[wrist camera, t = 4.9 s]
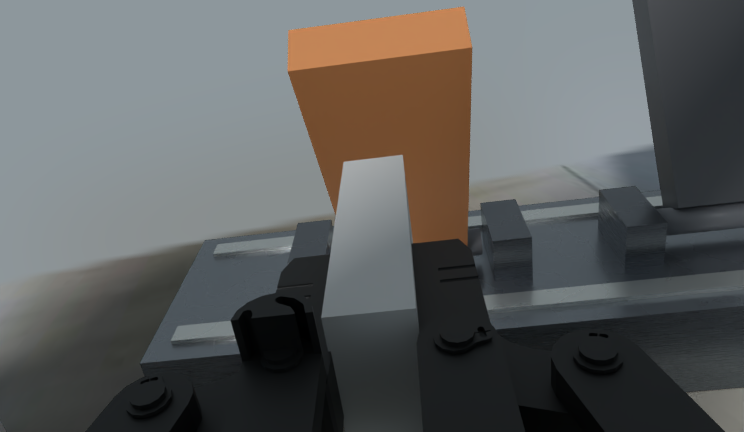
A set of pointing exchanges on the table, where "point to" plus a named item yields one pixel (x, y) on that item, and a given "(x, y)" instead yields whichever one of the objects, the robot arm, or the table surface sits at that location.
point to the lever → (394, 108)
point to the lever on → (696, 109)
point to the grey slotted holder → (513, 286)
